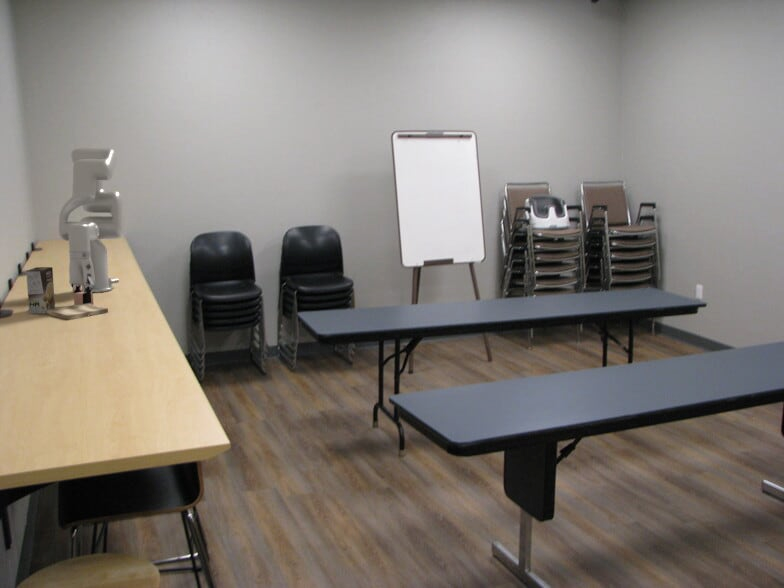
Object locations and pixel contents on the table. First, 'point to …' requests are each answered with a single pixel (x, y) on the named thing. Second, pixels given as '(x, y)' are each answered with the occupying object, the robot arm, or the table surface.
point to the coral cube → (81, 298)
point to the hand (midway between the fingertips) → (82, 301)
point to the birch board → (76, 311)
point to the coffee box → (40, 289)
